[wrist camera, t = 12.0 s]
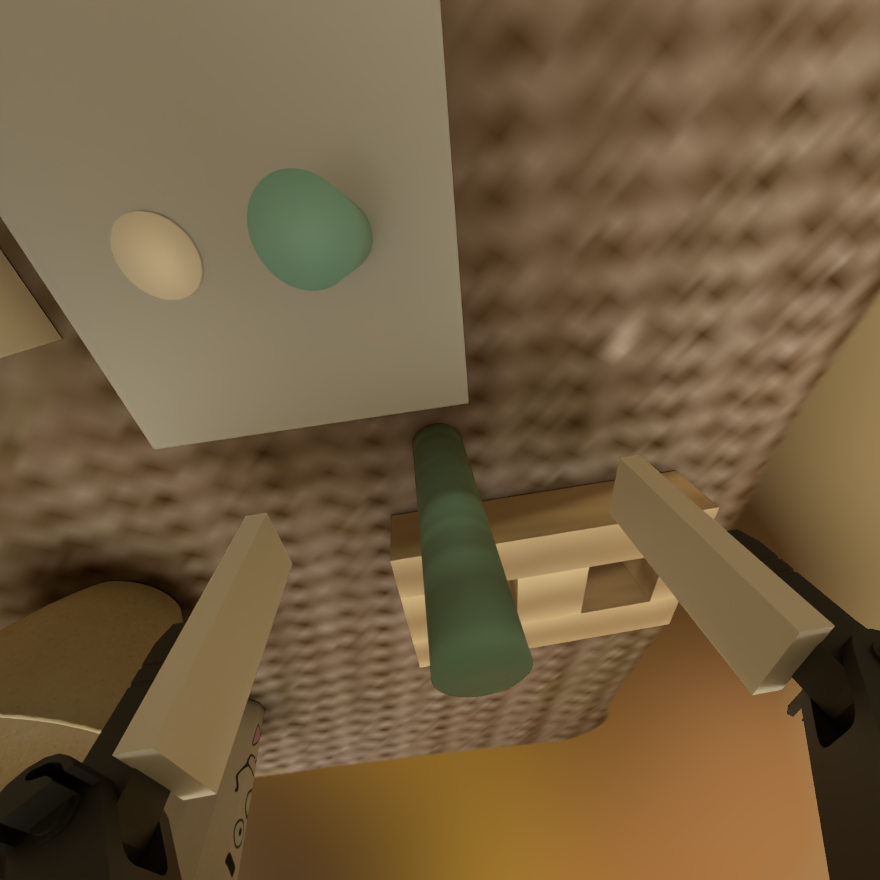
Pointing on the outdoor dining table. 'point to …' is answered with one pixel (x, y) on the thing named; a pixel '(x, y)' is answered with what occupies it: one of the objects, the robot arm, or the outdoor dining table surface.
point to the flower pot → (74, 669)
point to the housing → (20, 315)
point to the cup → (218, 811)
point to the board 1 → (240, 204)
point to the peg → (463, 576)
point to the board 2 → (555, 566)
